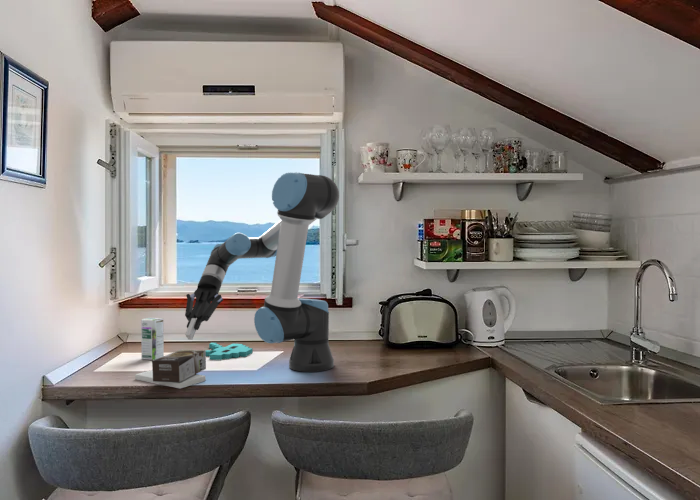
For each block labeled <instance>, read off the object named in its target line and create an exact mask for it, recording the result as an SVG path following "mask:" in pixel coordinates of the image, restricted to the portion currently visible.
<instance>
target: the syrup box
mask: <svg viewBox="0 0 700 500" xmlns="http://www.w3.org/2000/svg"><path fill="white" fill-rule="evenodd" d="M164 320H165V319H164V318H160V317H145V318H142V319H141V320H140V321H141V322H140V323H141V325H140V326H141V330H140V331H141V360H150V361H154V360H156V359H159V358H161V357H164V356H165V354H164V353H165V351H164V340H165V339H164V330H165V329H164V324H165V323H164V322H165V321H164Z"/></svg>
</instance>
